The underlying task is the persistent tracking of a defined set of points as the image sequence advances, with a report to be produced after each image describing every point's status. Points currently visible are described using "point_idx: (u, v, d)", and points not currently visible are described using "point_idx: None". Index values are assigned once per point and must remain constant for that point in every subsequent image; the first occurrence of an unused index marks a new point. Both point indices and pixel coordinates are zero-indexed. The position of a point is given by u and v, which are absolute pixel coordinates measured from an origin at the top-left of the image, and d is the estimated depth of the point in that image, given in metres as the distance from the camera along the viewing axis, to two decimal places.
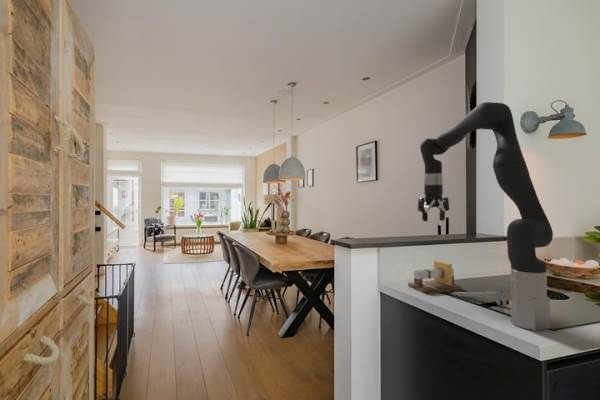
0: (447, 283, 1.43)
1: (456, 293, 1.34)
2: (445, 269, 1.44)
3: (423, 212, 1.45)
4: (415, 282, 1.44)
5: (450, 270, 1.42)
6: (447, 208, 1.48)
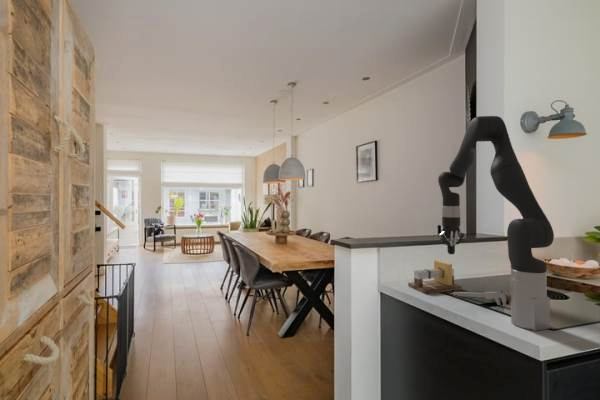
0: (447, 283, 1.43)
1: (456, 293, 1.34)
2: (445, 269, 1.44)
3: None
4: (415, 282, 1.44)
5: (450, 270, 1.42)
6: (457, 242, 1.51)
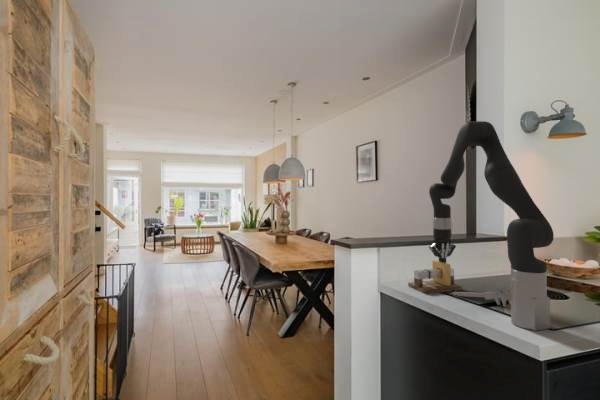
0: (445, 283, 1.42)
1: (456, 293, 1.34)
2: (443, 269, 1.43)
3: None
4: (415, 282, 1.44)
5: (448, 270, 1.42)
6: (449, 254, 1.50)
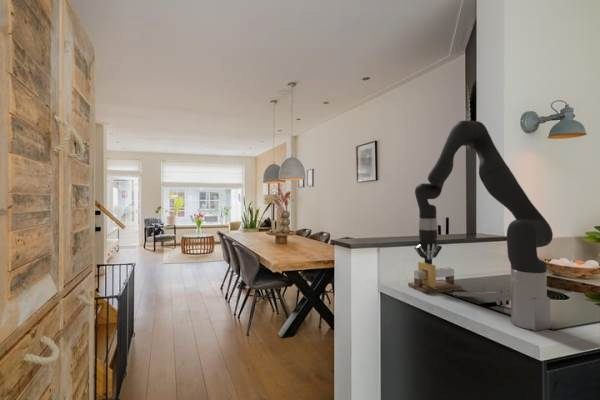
0: (430, 285, 1.40)
1: (456, 293, 1.34)
2: (428, 271, 1.41)
3: None
4: (415, 282, 1.44)
5: (433, 272, 1.40)
6: (435, 255, 1.48)
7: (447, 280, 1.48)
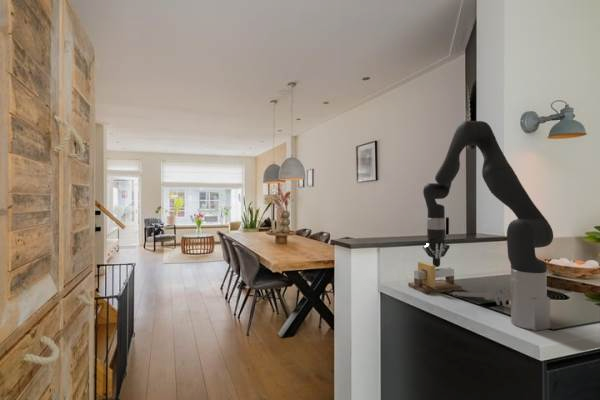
0: (430, 285, 1.40)
1: (456, 293, 1.34)
2: (428, 271, 1.41)
3: None
4: (415, 282, 1.44)
5: (433, 272, 1.40)
6: (443, 254, 1.49)
7: (447, 280, 1.48)
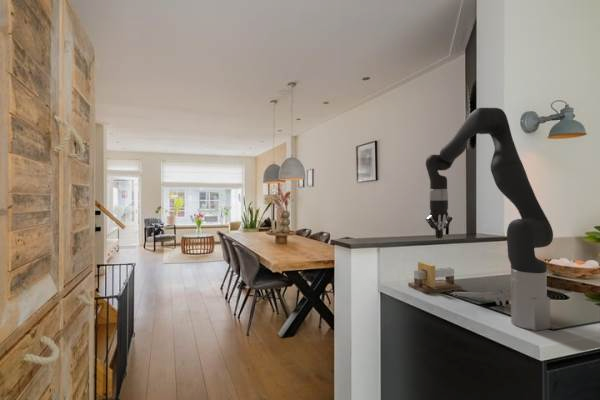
0: (430, 285, 1.40)
1: (456, 293, 1.34)
2: (428, 271, 1.41)
3: None
4: (415, 282, 1.44)
5: (433, 272, 1.40)
6: (446, 226, 1.48)
7: (447, 280, 1.48)
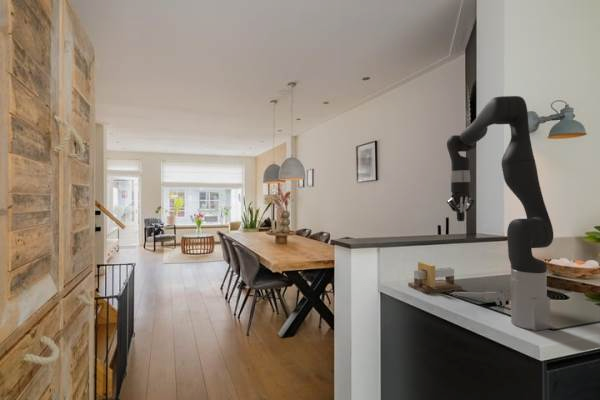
0: (430, 285, 1.40)
1: (455, 293, 1.34)
2: (428, 271, 1.41)
3: None
4: (415, 282, 1.44)
5: (433, 272, 1.40)
6: (467, 208, 1.45)
7: (447, 280, 1.48)
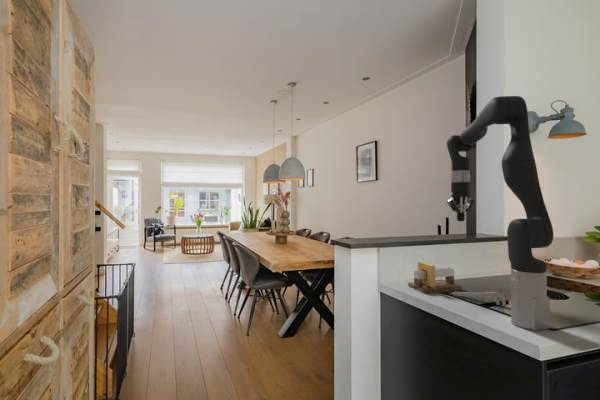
0: (430, 285, 1.40)
1: (455, 293, 1.34)
2: (428, 271, 1.41)
3: None
4: (415, 282, 1.44)
5: (433, 272, 1.40)
6: (467, 208, 1.45)
7: (447, 280, 1.48)
